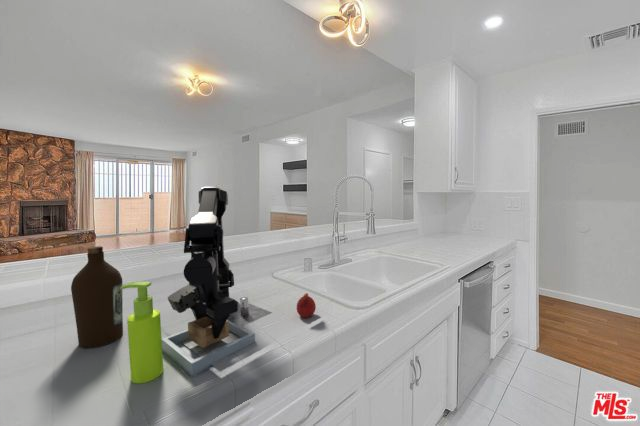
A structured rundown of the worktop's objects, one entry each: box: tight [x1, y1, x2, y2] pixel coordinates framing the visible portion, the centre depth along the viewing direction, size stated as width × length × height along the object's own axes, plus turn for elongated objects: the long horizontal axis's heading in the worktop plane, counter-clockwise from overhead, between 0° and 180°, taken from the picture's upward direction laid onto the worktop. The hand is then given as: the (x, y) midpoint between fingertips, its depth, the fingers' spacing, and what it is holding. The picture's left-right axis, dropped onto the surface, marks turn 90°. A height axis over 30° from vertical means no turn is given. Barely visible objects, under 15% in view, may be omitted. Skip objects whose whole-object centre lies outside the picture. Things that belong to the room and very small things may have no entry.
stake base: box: [227, 296, 273, 327], centre depth 87 cm, size 12×12×6 cm
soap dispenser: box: [120, 281, 164, 384], centre depth 59 cm, size 6×7×20 cm
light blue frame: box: [162, 320, 256, 378], centre depth 70 cm, size 16×16×3 cm
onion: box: [296, 292, 316, 319], centre depth 85 cm, size 6×6×8 cm
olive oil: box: [70, 245, 124, 349], centre depth 74 cm, size 11×11×25 cm
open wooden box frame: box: [187, 316, 230, 349], centre depth 70 cm, size 7×7×4 cm
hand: (208, 333), depth 70 cm, fingers closed on open wooden box frame, 7 cm apart
